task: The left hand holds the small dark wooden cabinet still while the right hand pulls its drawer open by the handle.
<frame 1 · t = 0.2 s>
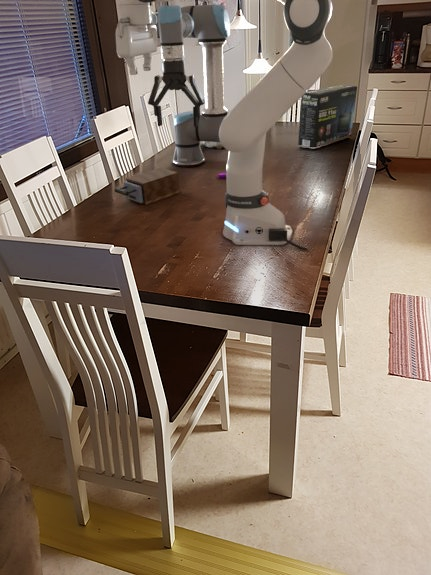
left hand: (178, 125, 164), 28 cm above the table, tool pointing down, fingers open, 13 cm apart
right hand: (140, 72, 133), 48 cm above the table, tool pointing down, fingers open, 8 cm apart
handgun: (231, 182, 194), on the table
router box: (325, 143, 245), on the table
cabinet: (154, 195, 184), on the table
drawer: (143, 188, 179), point 4 cm above the table, slide at 0.6 cm
fossil: (214, 145, 249), on the table
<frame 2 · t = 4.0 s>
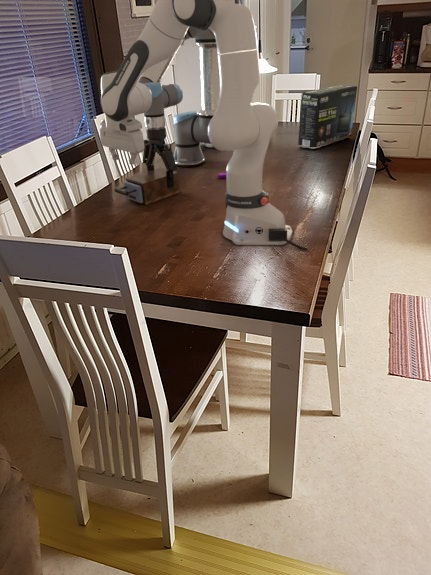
left hand: (161, 184, 184), 4 cm above the table, tool pointing down, fingers closed on cabinet, 11 cm apart
right hand: (124, 161, 166), 17 cm above the table, tool pointing down, fingers open, 8 cm apart
cabinet: (154, 195, 184), on the table, touching left hand
everything else where it was.
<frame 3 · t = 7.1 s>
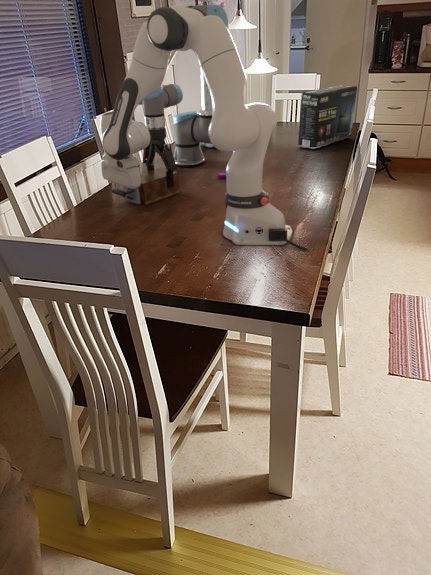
left hand: (161, 184, 184), 4 cm above the table, tool pointing down, fingers closed on cabinet, 11 cm apart
right hand: (123, 194, 173), 4 cm above the table, tool pointing down, fingers closed, pressing on drawer
cabinet: (154, 195, 184), on the table, touching left hand
drawer: (140, 189, 178), point 4 cm above the table, slide at 1.8 cm, touching right hand
everything else where it was.
when the left hand's fingers open (4 cm above the table, at t = 10.1 s): cabinet stays where it is, on the table.
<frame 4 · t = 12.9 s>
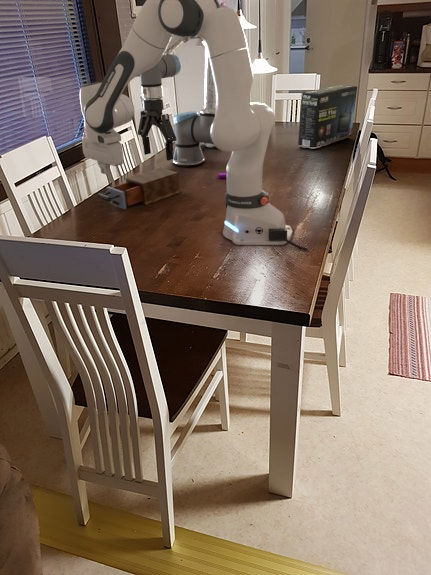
left hand: (158, 156, 179), 15 cm above the table, tool pointing down, fingers open, 13 cm apart
right hand: (105, 173, 164), 14 cm above the table, tool pointing down, fingers closed
cabinet: (154, 195, 184), on the table
drawer: (127, 194, 174), point 4 cm above the table, slide at 8.3 cm
everything else where it was.
at the end: drawer slide at 8.3 cm; cabinet tilted 0°; cabinet never tilted more than 1° during the clip; cabinet moved 0.1 cm from its start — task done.
